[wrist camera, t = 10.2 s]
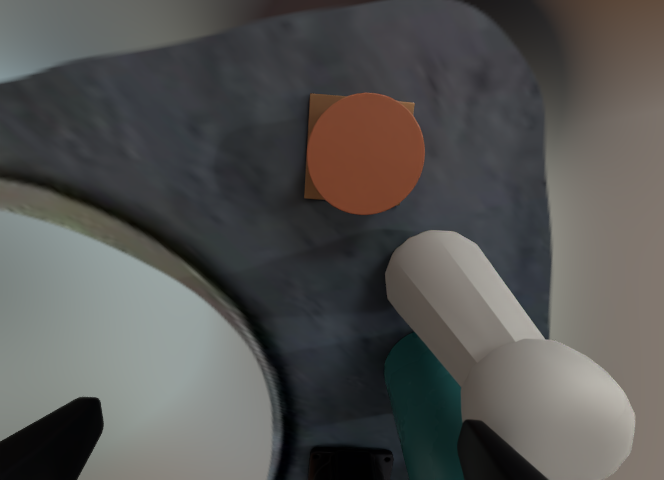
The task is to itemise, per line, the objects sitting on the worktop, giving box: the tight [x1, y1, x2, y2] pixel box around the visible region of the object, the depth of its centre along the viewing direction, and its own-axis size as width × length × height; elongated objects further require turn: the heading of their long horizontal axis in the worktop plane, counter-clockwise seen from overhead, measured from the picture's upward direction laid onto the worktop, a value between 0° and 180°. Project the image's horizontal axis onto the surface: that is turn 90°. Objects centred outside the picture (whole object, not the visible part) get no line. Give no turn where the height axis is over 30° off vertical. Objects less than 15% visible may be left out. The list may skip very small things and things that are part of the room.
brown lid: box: [307, 93, 425, 215], centre depth 16 cm, size 5×5×4 cm
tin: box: [384, 332, 465, 480], centre depth 18 cm, size 7×7×11 cm
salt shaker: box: [385, 230, 635, 480], centre depth 14 cm, size 6×6×13 cm
